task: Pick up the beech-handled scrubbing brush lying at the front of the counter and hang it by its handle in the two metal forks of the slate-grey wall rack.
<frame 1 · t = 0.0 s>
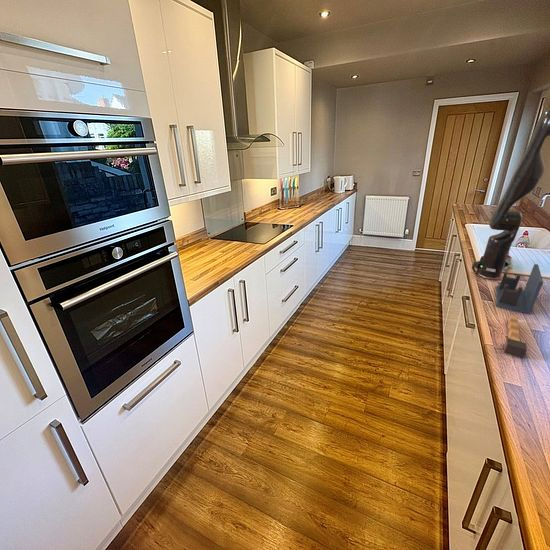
knee model: (504, 264, 158), on the counter
rack: (516, 300, 124), on the counter
brush: (512, 334, 103), on the counter
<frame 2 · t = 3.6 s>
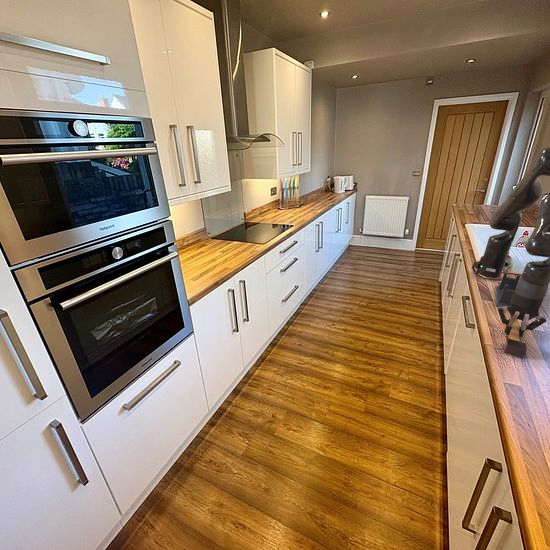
hand: (512, 335, 103), 0 cm above the counter, tool pointing down, fingers closed on brush, 2 cm apart
brush: (512, 334, 104), on the counter, touching gripper
everything else where it was.
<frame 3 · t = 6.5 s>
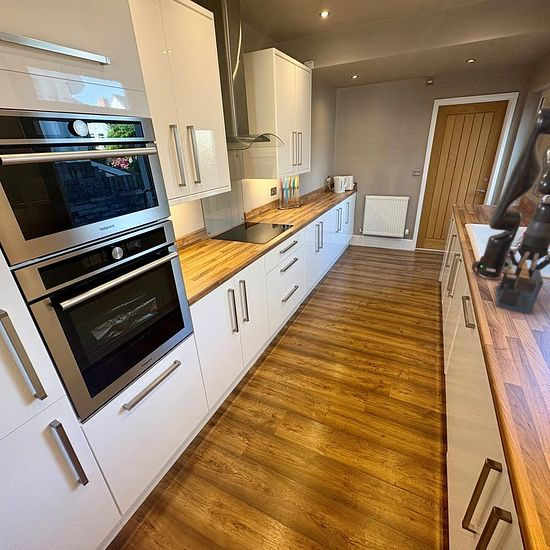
hand: (522, 276, 108), 16 cm above the counter, tool pointing down, fingers closed on brush
brush: (521, 276, 109), point 16 cm above the counter, touching gripper
everything else where it was.
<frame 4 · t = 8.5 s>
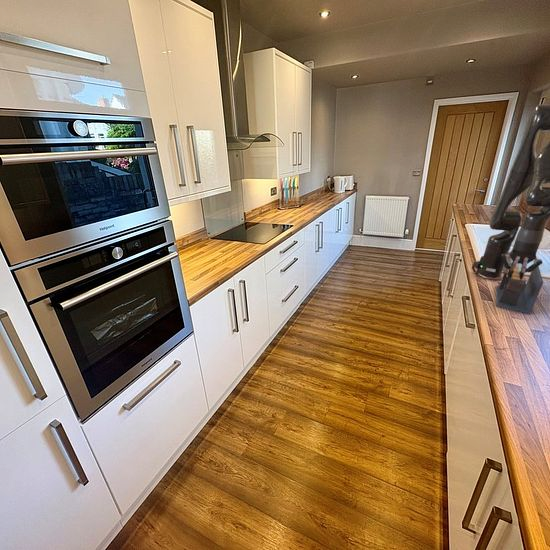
hand: (513, 278, 121), 10 cm above the counter, tool pointing down, fingers closed on brush
brush: (513, 278, 122), point 10 cm above the counter, touching gripper
everything else where it was.
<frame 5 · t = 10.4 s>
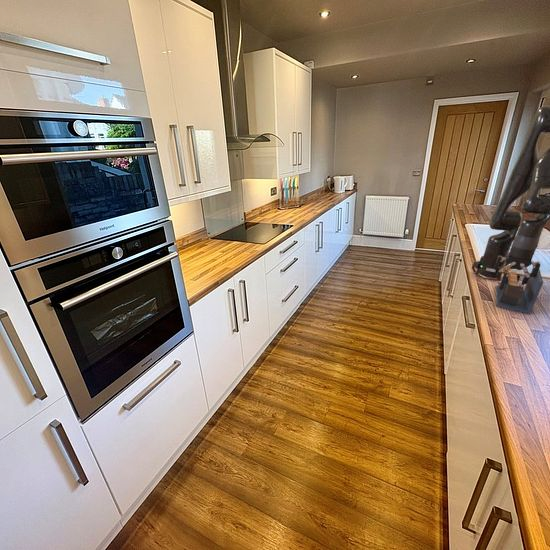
hand: (510, 281, 122), 8 cm above the counter, tool pointing down, fingers open, 8 cm apart
brush: (511, 284, 123), point 7 cm above the counter, touching rack
everything else where it was.
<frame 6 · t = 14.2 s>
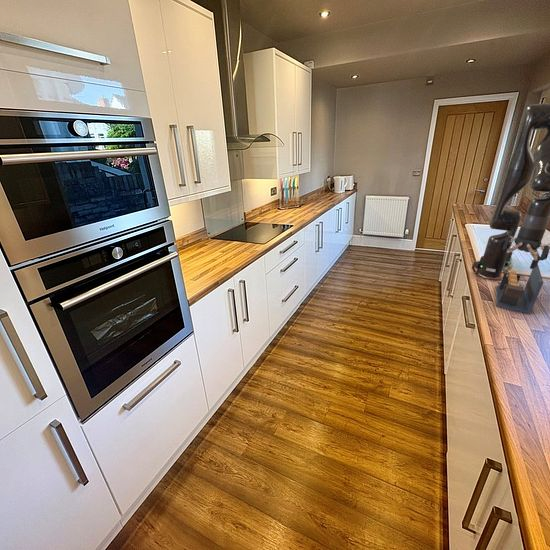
hand: (519, 264, 118), 16 cm above the counter, tool pointing down, fingers open, 8 cm apart
nothing on the counter moved.
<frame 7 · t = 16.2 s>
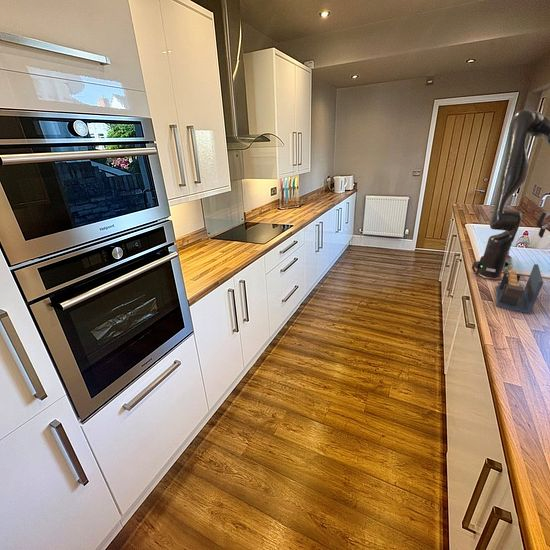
nothing on the counter moved.
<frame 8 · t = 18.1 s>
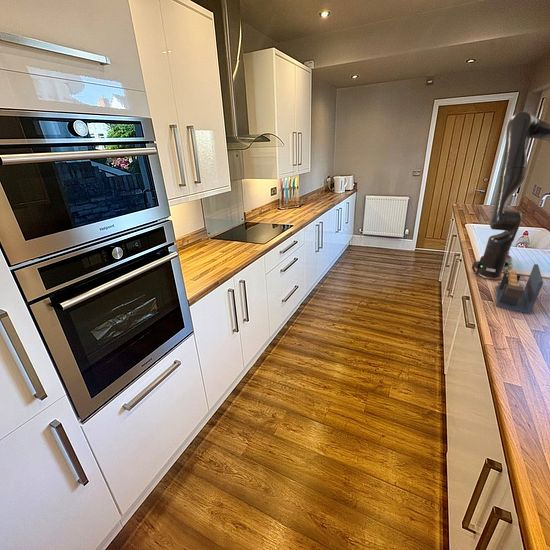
nothing on the counter moved.
at the end: brush 0.1 cm from the target spot on the rack, point 7.0 cm above the rack's base; brush touching rack; brush tilted 0° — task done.
